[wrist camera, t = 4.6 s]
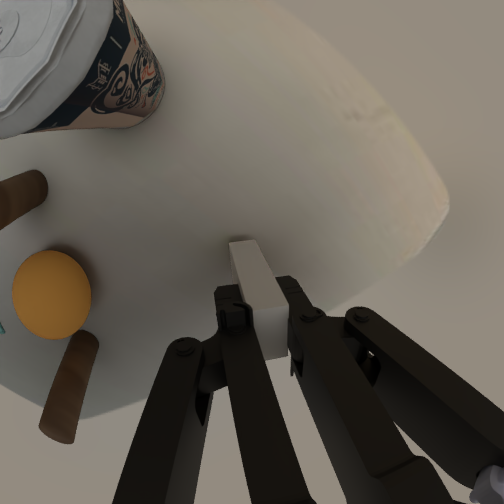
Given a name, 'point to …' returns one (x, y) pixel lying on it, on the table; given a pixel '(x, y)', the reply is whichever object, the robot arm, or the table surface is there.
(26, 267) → the ball
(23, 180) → the post
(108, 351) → the table surface
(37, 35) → the beer can
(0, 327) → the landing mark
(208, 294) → the table surface
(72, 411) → the post
